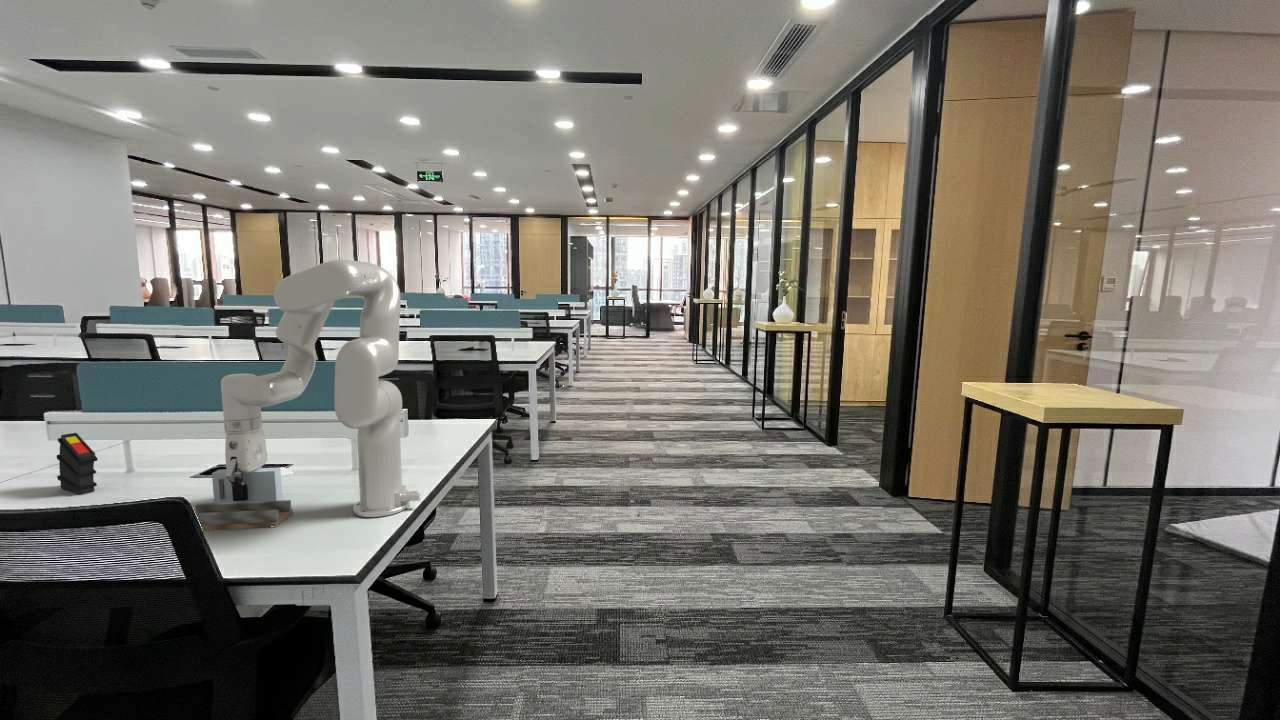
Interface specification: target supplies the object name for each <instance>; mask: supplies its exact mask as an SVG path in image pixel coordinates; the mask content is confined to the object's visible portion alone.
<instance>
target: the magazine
mask: <svg viewBox="0 0 1280 720" xmlns="http://www.w3.org/2000/svg"><path fill="white" fill-rule="evenodd" d="M57 442H58V443H59V454H56V459H57V460H58V461H59V463H58V464H59V467H58V468H59V475H57V476H56V479H57V481H59V482H60V488H61V489H62V490H65V491H67V492H71V493H74V494H76V495H84V494H89V493H93V492H95V487H97V486H98V484H97V483H96V482H95V481H94V477H95V476H94V474H97V470H95V468H94V467H95V465H94V464H95V462H97V461H98V457H97V455H96V453H95V452H94V450H92V448H91V447H90V446H89V445H88V444H87V442H86V441H85V440H84V439H83V438H82V436H81V435H79V434H78V433H77V432H73V433H72V432H70V433H65V434H61V435H60V437H59V438H57Z"/></svg>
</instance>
